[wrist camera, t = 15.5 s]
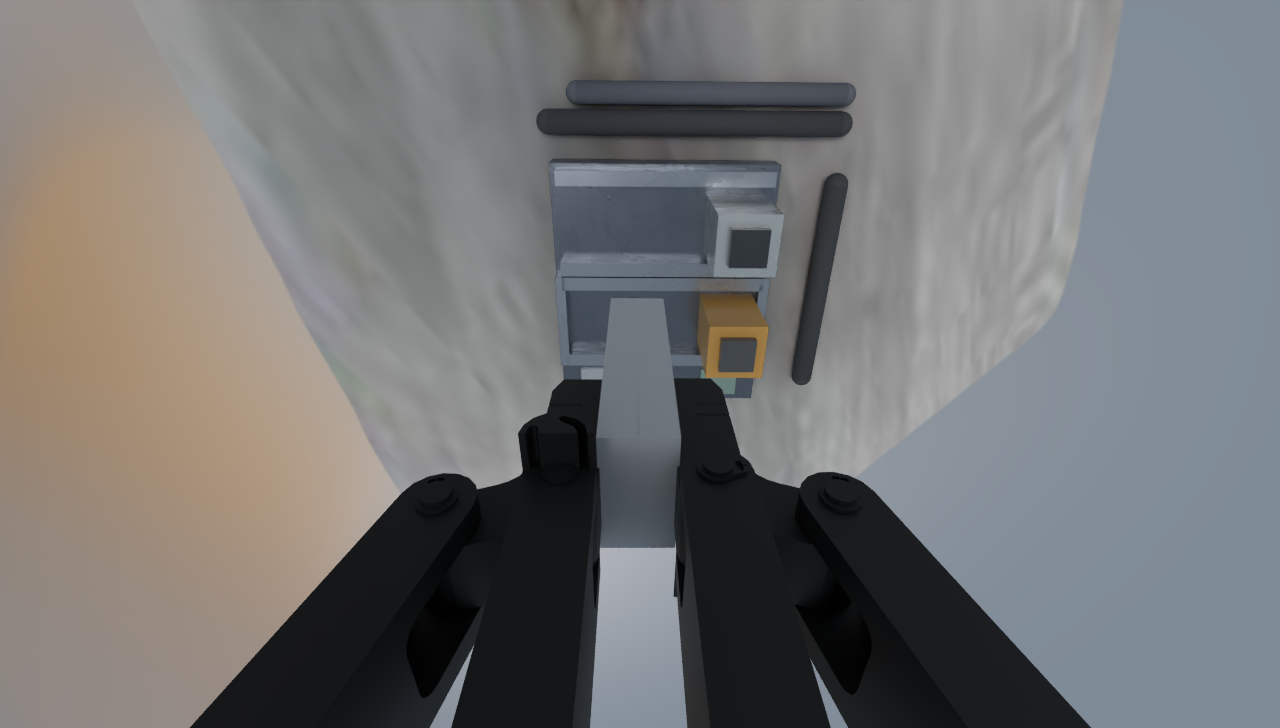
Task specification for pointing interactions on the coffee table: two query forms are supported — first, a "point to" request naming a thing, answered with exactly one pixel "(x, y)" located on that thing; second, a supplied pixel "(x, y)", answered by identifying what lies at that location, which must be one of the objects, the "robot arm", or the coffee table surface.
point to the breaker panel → (659, 248)
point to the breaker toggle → (731, 336)
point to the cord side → (819, 275)
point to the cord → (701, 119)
